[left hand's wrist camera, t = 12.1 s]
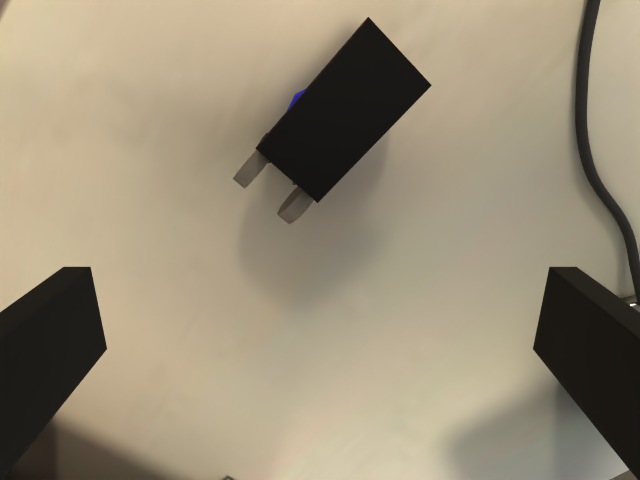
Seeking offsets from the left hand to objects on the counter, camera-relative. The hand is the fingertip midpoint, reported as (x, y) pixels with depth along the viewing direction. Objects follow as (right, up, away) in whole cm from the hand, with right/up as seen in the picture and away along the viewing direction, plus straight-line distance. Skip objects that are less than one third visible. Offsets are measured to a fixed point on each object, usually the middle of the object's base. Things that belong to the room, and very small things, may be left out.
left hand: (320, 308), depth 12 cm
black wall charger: (0, +12, +23) cm, 26 cm away
